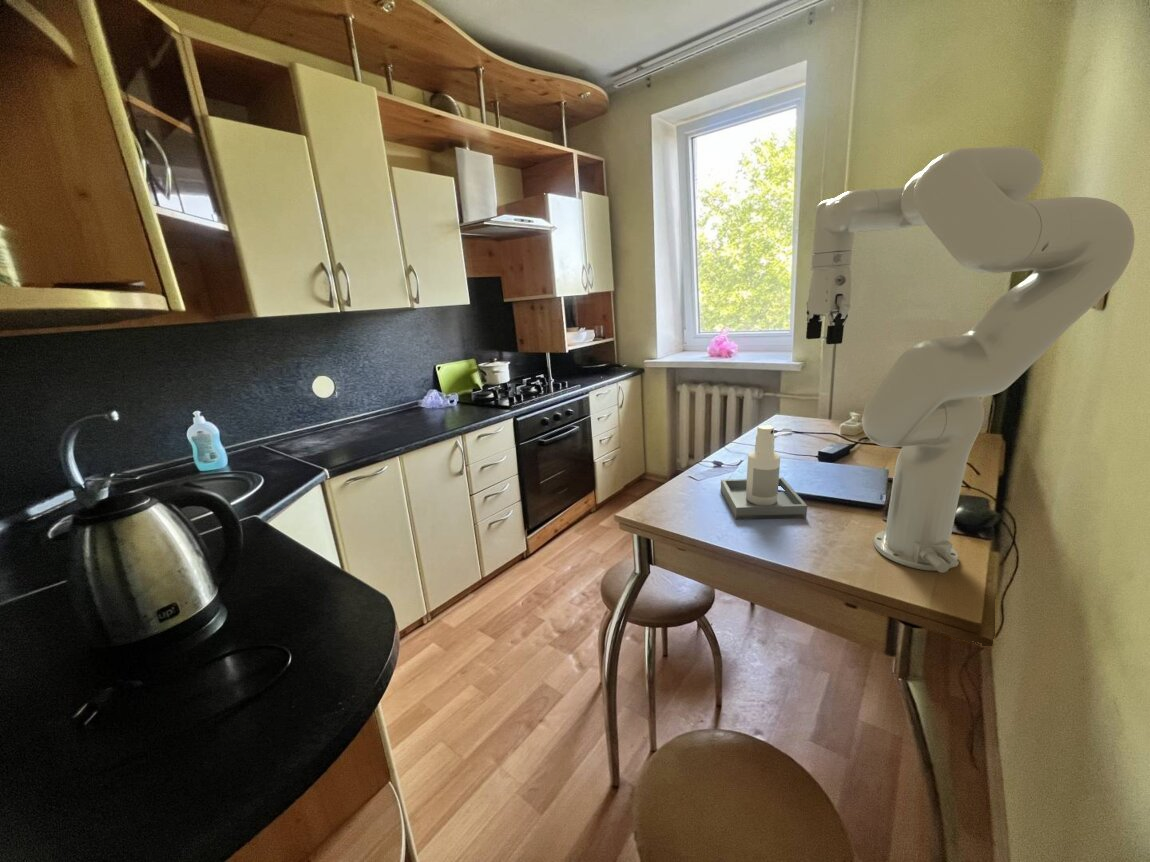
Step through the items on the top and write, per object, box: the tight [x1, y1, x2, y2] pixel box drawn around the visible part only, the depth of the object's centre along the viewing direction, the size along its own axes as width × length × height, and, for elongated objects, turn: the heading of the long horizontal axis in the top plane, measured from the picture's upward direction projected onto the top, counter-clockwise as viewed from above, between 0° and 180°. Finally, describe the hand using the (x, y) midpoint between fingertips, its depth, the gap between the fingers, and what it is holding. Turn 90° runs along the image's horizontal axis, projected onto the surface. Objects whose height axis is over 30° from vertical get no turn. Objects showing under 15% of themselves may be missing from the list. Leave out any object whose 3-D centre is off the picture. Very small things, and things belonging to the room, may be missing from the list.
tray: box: [720, 477, 808, 521], centre depth 106 cm, size 15×15×3 cm
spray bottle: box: [746, 424, 781, 505], centre depth 103 cm, size 7×7×18 cm
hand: (823, 341), depth 103 cm, fingers open, 9 cm apart
